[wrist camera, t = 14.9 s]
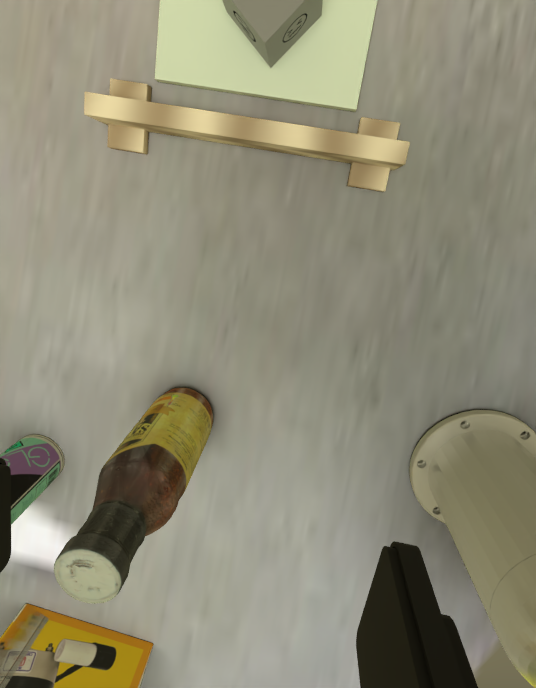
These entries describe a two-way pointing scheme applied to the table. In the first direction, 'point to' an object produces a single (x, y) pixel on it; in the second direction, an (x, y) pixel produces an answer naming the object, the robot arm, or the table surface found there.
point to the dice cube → (273, 23)
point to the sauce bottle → (135, 494)
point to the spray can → (31, 469)
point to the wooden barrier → (247, 133)
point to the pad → (248, 65)
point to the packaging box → (68, 653)
